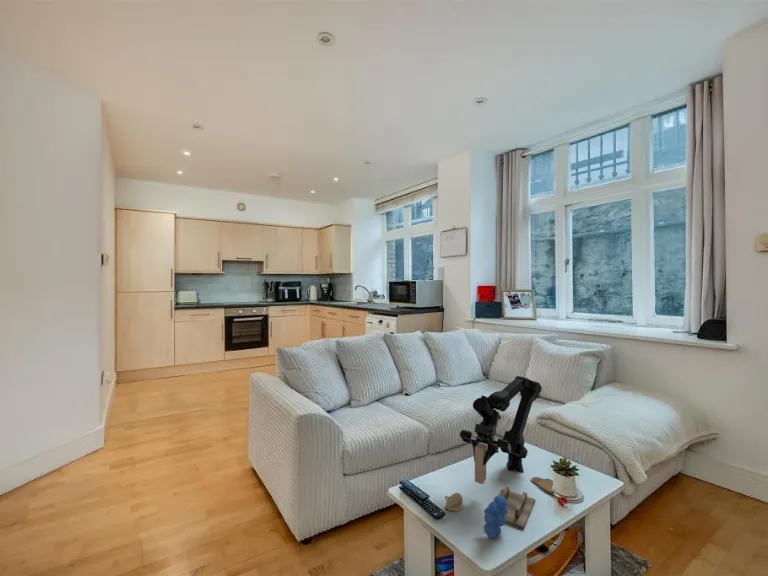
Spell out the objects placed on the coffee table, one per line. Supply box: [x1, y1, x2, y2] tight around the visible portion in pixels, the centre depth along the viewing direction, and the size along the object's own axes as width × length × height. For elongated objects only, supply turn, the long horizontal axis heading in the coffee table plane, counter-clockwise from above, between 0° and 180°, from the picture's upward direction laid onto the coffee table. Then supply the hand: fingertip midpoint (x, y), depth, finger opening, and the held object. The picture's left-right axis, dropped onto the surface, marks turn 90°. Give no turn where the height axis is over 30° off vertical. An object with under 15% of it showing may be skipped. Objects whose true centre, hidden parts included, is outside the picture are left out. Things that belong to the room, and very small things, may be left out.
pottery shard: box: [530, 476, 554, 495], centre depth 143 cm, size 8×3×15 cm
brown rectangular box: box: [474, 442, 487, 485], centre depth 137 cm, size 3×4×13 cm
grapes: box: [483, 495, 508, 540], centre depth 117 cm, size 12×7×12 cm, turn 131°
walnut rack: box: [497, 486, 536, 530], centre depth 130 cm, size 18×12×4 cm, turn 146°
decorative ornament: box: [443, 492, 464, 512], centre depth 130 cm, size 4×8×5 cm, turn 118°
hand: (479, 463), depth 136 cm, fingers closed on brown rectangular box, 3 cm apart
